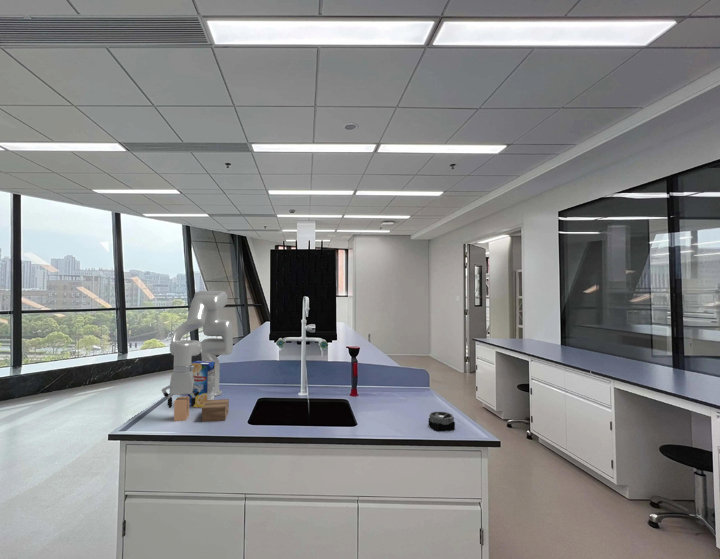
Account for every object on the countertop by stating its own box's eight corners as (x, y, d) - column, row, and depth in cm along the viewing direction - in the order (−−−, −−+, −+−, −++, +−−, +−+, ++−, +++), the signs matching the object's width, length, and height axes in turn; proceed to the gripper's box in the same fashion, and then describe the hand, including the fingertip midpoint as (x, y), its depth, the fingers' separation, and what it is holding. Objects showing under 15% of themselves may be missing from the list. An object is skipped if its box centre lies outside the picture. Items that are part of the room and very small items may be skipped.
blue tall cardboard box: (207, 408, 201) (207, 364, 202) (187, 406, 203) (188, 363, 204) (214, 404, 208) (215, 361, 208) (195, 402, 210) (196, 360, 210)
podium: (207, 412, 194) (207, 400, 194) (228, 411, 196) (228, 399, 196) (201, 421, 180) (202, 408, 180) (224, 420, 182) (225, 407, 182)
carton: (177, 416, 188) (178, 397, 188) (189, 415, 189) (189, 396, 189) (173, 421, 181) (174, 401, 181) (185, 420, 182) (186, 400, 182)
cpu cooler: (426, 411, 180) (447, 410, 182) (426, 424, 180) (446, 423, 182) (435, 419, 170) (457, 417, 172) (435, 432, 170) (457, 431, 172)
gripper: (203, 367, 191) (202, 403, 190) (164, 368, 187) (163, 405, 186) (200, 370, 183) (199, 407, 183) (160, 371, 180) (158, 409, 179)
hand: (181, 406), depth 185 cm, fingers open, 9 cm apart
